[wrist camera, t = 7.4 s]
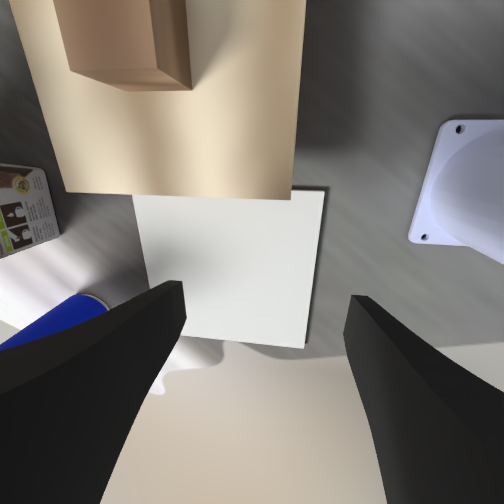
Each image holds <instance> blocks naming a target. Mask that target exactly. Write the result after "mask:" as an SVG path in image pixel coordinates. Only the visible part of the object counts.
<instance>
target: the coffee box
mask: <svg viewBox="0 0 504 504" xmlns="http://www.w3.org/2000/svg"><path fill="white" fill-rule="evenodd" d="M59 236H60V233H59V229H58V225H57V221H56V217H55V212H54V208H53V204H52V200H51V196H50V192H49V187H48V183H47V179H46V175H45V172H44V171H43V170H42V169H41V168H35V167H28V166H20V165H12V164H4V163H0V259H1V258H4V257H7V256H9V255H12V254H15V253H17V252H20V251H22V250H25V249H28V248H31V247H33V246H36V245H39V244H41V243H44V242H47V241H50V240H52V239H55V238H58V237H59Z"/></svg>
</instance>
